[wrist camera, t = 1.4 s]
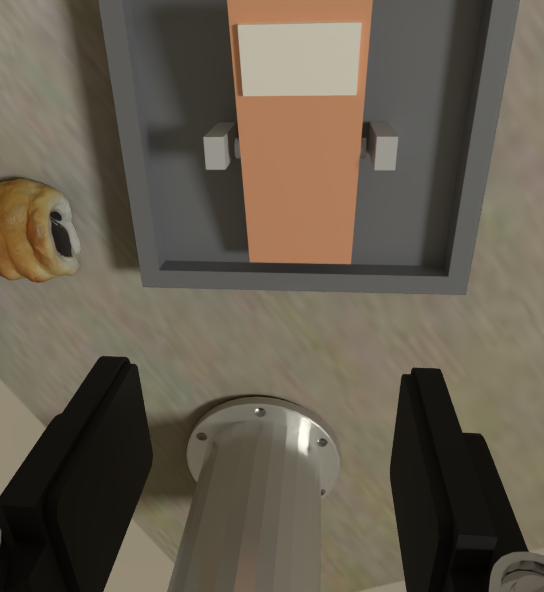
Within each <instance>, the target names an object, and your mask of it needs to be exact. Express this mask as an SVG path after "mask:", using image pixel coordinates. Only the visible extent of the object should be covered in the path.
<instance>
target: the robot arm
mask: <svg viewBox="0 0 544 592" xmlns="http://www.w3.org/2000/svg"><path fill="white" fill-rule="evenodd" d="M186 456H187V463H188V467H189V470H190V472H191V475H192V477H193V478H194V480H195V481H196V483H197V485H196V488H195V492H194V495H193V499H192V503H191V506H190V510H189V514H188V517H187V521H186V525H185V528H184V532H183V536H182V539H181V543H180V547H179V550H178V554H177V558H176V561H175V565H174V569H173V572H172V576H171V580H170V583H169V587H168V590H167V592H320V575H321V501H322V500H323V499H324V498H326V497H327V496H328V494H329V493H330V492H331V491H332V490H333V488H334V486H335V484H336V482H337V480H338V477H339V472H340V453H339V448H338V444H337V442H336V439H335V437H334V435H333V433H332V432H331V431H330V429H329V428H328V427H327V426H326V424H325V423H324V422H323V421H321V420H320V419H319V418H318V417H317V416H316V415H314V414H313V413H311V412H309V411H308V410H306V409H304V408H303V407H301V406H298V405H296V404H293V403H291V402H288V401H284V400H280V399H275V398H268V397H246V398H239V399H235V400H231V401H227V402H225V403H223V404H220V405H218V406H216V407H214V408H213V409H211V410H210V411H208V412H207V413H205V414H204V415H203V416H202V418H201V419H200V420H199V421H198V422H197V423H196V425H195V427H194V429H193V430H192V432H191V436H190V439H189V442H188V445H187V453H186ZM152 459H153V453H152V446H151V440H150V435H149V429H148V423H147V417H146V412H145V406H144V400H143V395H142V389H141V383H140V377H139V372H138V367H137V365H136V364H130V361H129V359H128V358H127V357H112V356H102V357H100V358H99V359H98V360H97V362H96V363H95V365H94V366H93V368H92V369H91V371H90V372H89V374H88V375H87V377H86V378H85V380H84V381H83V383H82V384H81V386H80V387H79V389H78V390H77V392H76V393H75V395H74V396H73V398H72V399H71V401H70V402H69V404H68V405H67V407H66V408H65V410H64V411H63V413H62V414H59V415H57V416H55V417H54V419H53V420H52V421H51V422H50V424H49V425H48V427H47V428H46V430H45V431H44V432H43V434H42V436H41V437H40V438H39V440H38V441H37V443H36V444H35V446H34V447H33V449H32V450H31V451H30V453H29V454H28V456H27V457H26V459H25V461H24V462H23V463H22V465H21V466H20V468H19V469H18V471H17V472H16V473H15V475H14V476H13V478H12V479H11V481H10V482H9V484H8V485H7V487H6V488H5V490H4V491H3V493H2V494H1V496H0V592H103V591H104V588H105V586H106V583H107V580H108V578H109V575H110V572H111V570H112V567H113V565H114V562H115V560H116V557H117V555H118V552H119V549H120V547H121V544H122V541H123V539H124V536H125V534H126V531H127V528H128V526H129V524H130V521H131V518H132V516H133V513H134V511H135V508H136V506H137V503H138V500H139V498H140V495H141V493H142V490H143V487H144V485H145V482H146V480H147V477H148V474H149V472H150V469H151V466H152ZM390 481H391V488H392V495H393V502H394V509H395V515H396V522H397V529H398V536H399V542H400V549H401V556H402V563H403V570H404V576H405V583H406V590H407V592H544V556H543V555H540V554H536V553H531V552H529V551H528V549H527V546H526V544H525V541H524V538H523V536H522V533H521V531H520V528H519V526H518V523H517V520H516V518H515V515H514V513H513V510H512V508H511V505H510V502H509V500H508V497H507V495H506V492H505V490H504V487H503V484H502V482H501V479H500V477H499V474H498V472H497V469H496V466H495V464H494V461H493V459H492V456H491V454H490V451H489V449H488V446H487V443H486V441H485V439H484V437H483V436H482V435H481V434H479V433H462V430H461V427H460V424H459V421H458V419H457V416H456V413H455V410H454V407H453V404H452V401H451V398H450V395H449V392H448V389H447V386H446V383H445V380H444V377H443V374H442V372H441V370H440V369H435V368H412V370H411V374H403V375H402V378H401V385H400V393H399V401H398V408H397V416H396V424H395V432H394V440H393V448H392V456H391V464H390Z"/></svg>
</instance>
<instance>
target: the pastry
mask: <svg viewBox="0 0 544 592" xmlns="http://www.w3.org/2000/svg"><path fill="white" fill-rule="evenodd" d="M71 218H72V213H71V209H70V205H69V202H68V200H67V199H66V198H65V196H64V195H63V194H62V193H61V192H59V191H58V190H56V189H54V188H52V187H50V186H48V185H45V184H42V183H39V182H36V181H33V180H28V179H16V180H12V181H5V182H0V276H3V277H4V278H6V279H8V280H18V279H22V278H28V279H29V280H30V281H32V282H37V283H39V282H45V281H47V280H50V279H52V278H55V277H58V276H63V275H69V276H72V275H74V274H75V273H76V272H77V271H78V269H79V267H80V261H79V259H80V255H79V253H80V251H81V247H80V240H79V238H78V236H77V233H76V230H75V228H74V226H73V225H72V223H71Z"/></svg>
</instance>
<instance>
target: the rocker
mask: <svg viewBox="0 0 544 592" xmlns="http://www.w3.org/2000/svg"><path fill="white" fill-rule="evenodd" d="M372 3H373V0H227V5H228V17H229V28H230V40H231V51H232V63H233V74H234V86H235V97H236V109H237V120H238V132H239V138H236V139H235V157H236V158H241V166H242V178H243V189H244V201H245V212H246V224H247V235H248V247H249V258H250V262H264V263H314V264H351V257H352V245H353V233H354V221H355V209H356V197H357V185H358V173H359V160H360V159H365V157H366V144H367V142H366V138H361V136H362V124H363V112H364V100H365V88H366V76H367V64H368V52H369V40H370V28H371V16H372Z"/></svg>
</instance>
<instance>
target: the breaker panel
mask: <svg viewBox="0 0 544 592" xmlns="http://www.w3.org/2000/svg"><path fill="white" fill-rule="evenodd" d="M98 2H99V8H100V15H101V21H102V28H103V34H104V41H105V47H106V53H107V60H108V66H109V73H110V79H111V86H112V92H113V98H114V105H115V111H116V118H117V124H118V131H119V137H120V143H121V150H122V156H123V163H124V169H125V176H126V182H127V188H128V195H129V201H130V208H131V214H132V221H133V227H134V234H135V240H136V246H137V253H138V259H139V266H140V272H141V279H142V285H143V287H159V288H200V289H240V290H281V291H322V292H363V293H404V294H445V295H466V292H467V286H468V281H469V275H470V270H471V264H472V259H473V253H474V248H475V242H476V237H477V232H478V226H479V221H480V215H481V210H482V204H483V199H484V193H485V188H486V182H487V177H488V171H489V166H490V161H491V155H492V150H493V144H494V139H495V133H496V128H497V122H498V117H499V111H500V106H501V100H502V95H503V90H504V84H505V79H506V73H507V68H508V62H509V57H510V51H511V46H512V40H513V35H514V29H515V24H516V18H517V13H518V8H519V2H520V0H373V3H372V16H371V28H370V40H369V52H368V64H367V76H366V88H365V100H364V112H363V124H362V136H361V138H366V142H367V144H366V157H365V159H360V160H359V173H358V185H357V197H356V209H355V221H354V233H353V245H352V257H351V264H314V263H264V262H250V258H249V247H248V235H247V224H246V212H245V201H244V189H243V178H242V166H241V158H236V157H235V139H236V138H239V132H238V120H237V109H236V97H235V86H234V74H233V63H232V51H231V40H230V28H229V17H228V5H227V0H98Z"/></svg>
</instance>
